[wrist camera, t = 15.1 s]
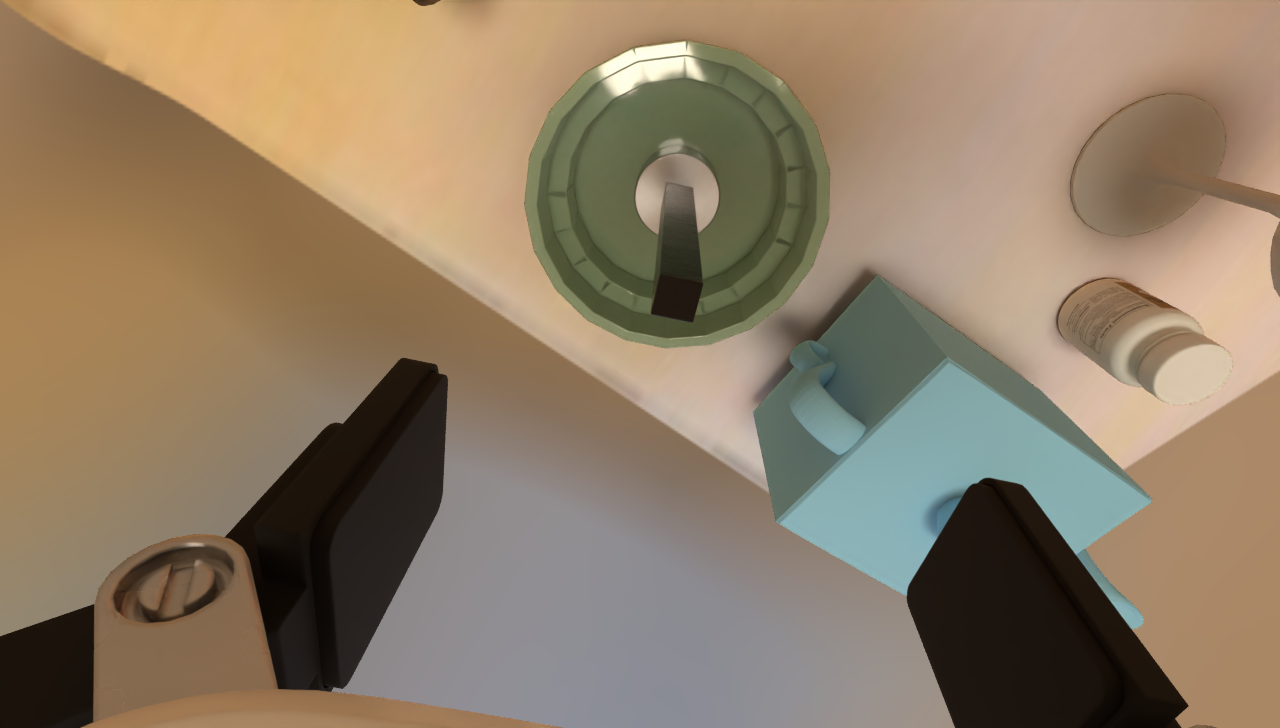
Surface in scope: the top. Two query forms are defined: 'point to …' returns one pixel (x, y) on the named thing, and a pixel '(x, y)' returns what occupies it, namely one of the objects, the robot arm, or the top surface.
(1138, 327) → the pill bottle
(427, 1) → the mug
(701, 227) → the square post on disc
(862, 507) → the teapot
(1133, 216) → the wineglass
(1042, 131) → the top surface
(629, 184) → the bowl
